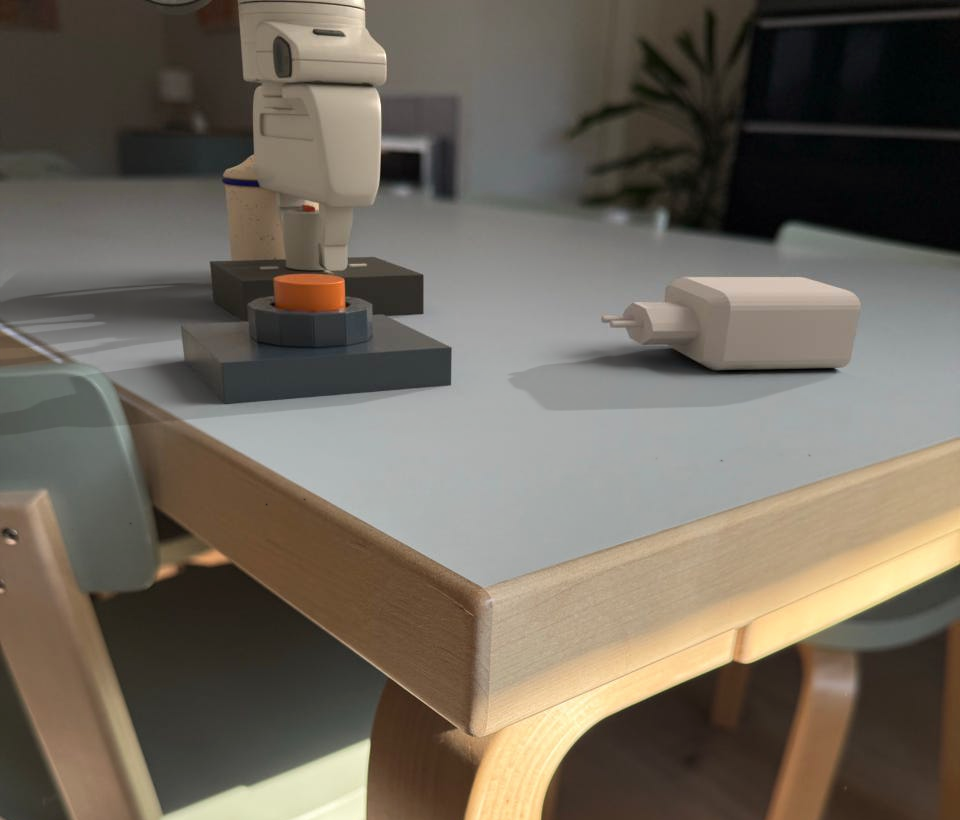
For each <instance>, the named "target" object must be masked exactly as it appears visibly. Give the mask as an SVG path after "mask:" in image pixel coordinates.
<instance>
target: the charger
mask: <svg viewBox="0 0 960 820" xmlns="http://www.w3.org/2000/svg"><path fill="white" fill-rule="evenodd" d="M861 306H862V305H861V301H860V299H859V297H858V296H857V295H856V293H854V292H853V291H850V290H848V289H844V288H841V287H837V286H834V285H830V284H827V283H824V282H821V281H817V280H813V279H810V278H808V277H801V276H783V277H782V276H681V277H678V278H677V279H675V280H674V281H672V282H671V283H670V284H668V285H667V286H666V288H665V293H664V301H638V302H637V301H633V302H631V303H630V304H629V305H627V307H626V308H625V309H624V311H623V314H622V315H602V316H601V322H602V323H603V324H604V323H605V324H607V323H609V327H610V328H614V329H615V328H616V329H617V328H619V329H620V328H625V330H626V332H627V334H628V337H629V339H631V340H632V341H634V342H636V343H637V344H639V345H641V346H656V345H657V346H660V345H661V346H662V345H663V346H668V347H669V348H671V349H673V350H675V351H677V352H678V353H680V354H682V355H684V356H686V357H687V358H689V359H691V360H693V361H694V362H696V363H698V364H700V365H702V366H703V367H706V368H708V369H709V370H711V371H742V370H747V371H748V370H753V371H754V370H788V369H789V370H797V369H798V370H800V369H841V368H845V367H847V366H848V365H849V364H850V362H851V359H852V355H853V350H854V344H855V339H856V334H857V329H858V325H859V319H860V314H861V309H862V307H861Z"/></svg>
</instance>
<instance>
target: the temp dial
mask: <svg viewBox="0 0 960 820" xmlns="http://www.w3.org/2000/svg"><path fill="white" fill-rule="evenodd" d="M283 223H284V240H285V256H286V267H288V268H290V269H296V270H307V271H326V269H324V268H322V267H321V266H320V265H319V254H318V243H321V227H322V220H320V218H319V210H318V209H315V207H312V206H310V205H302V209H295V210H285V211H283Z"/></svg>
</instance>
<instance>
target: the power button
mask: <svg viewBox="0 0 960 820" xmlns="http://www.w3.org/2000/svg"><path fill="white" fill-rule="evenodd" d="M273 281H274V296H275V308H281V309H288V310H304V311H318V310H334V309H340V308H345V280H344V278H342V277H338V276H333V275H324V274H290V275H282V276H278V277H275V278H274V280H273Z"/></svg>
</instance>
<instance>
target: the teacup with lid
mask: <svg viewBox="0 0 960 820" xmlns="http://www.w3.org/2000/svg"><path fill="white" fill-rule="evenodd" d="M221 182H222V183H223V184H224V186H225V197H226V198H225V199H226V209H227V221H228V223H227V224H228V233H229V234H228V235H229V246H230V247H229V248H230V257H231V261H241V260H277V259H286V256H285V250H284V242H283V230H282V227H281V223H280V219H279V216H278V212H277V208H276V199H275V192H274V191H271V190H267V189H263V188H261V187H260V185H259V183H258V180H257V175H256V172H255V162H254V154H251V155H250V156H248V157H247V158H246V159H245V160H244V161H242V162H241V163H240V164H238V165H236V166H233V167H230V168H227V169H225V170H224V172H223V174H222V179H221ZM305 205H310V206H312V207H315V209H318V210H319V203H316V202H312V201H308V200H305Z"/></svg>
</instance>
